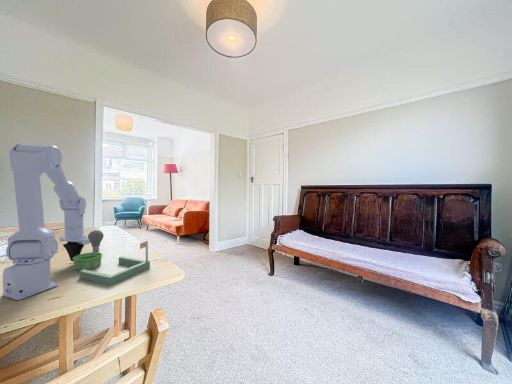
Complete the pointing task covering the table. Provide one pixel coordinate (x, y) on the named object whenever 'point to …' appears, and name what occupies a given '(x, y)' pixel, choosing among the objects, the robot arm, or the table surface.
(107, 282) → the green tray with flag
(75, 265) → the ramekin
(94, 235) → the light bulb
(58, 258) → the table surface
